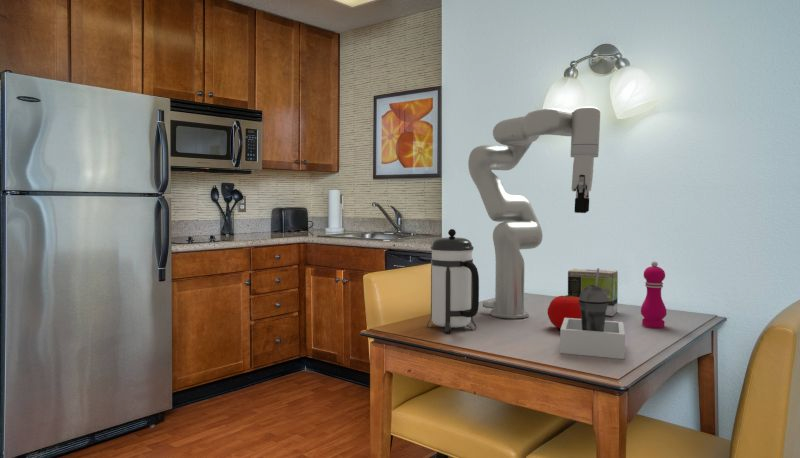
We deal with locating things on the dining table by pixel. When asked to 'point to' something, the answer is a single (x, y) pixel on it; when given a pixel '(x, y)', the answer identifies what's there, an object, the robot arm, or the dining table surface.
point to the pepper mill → (653, 298)
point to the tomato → (563, 309)
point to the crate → (592, 339)
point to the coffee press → (453, 283)
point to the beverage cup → (593, 307)
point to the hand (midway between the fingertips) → (581, 212)
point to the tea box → (588, 277)
